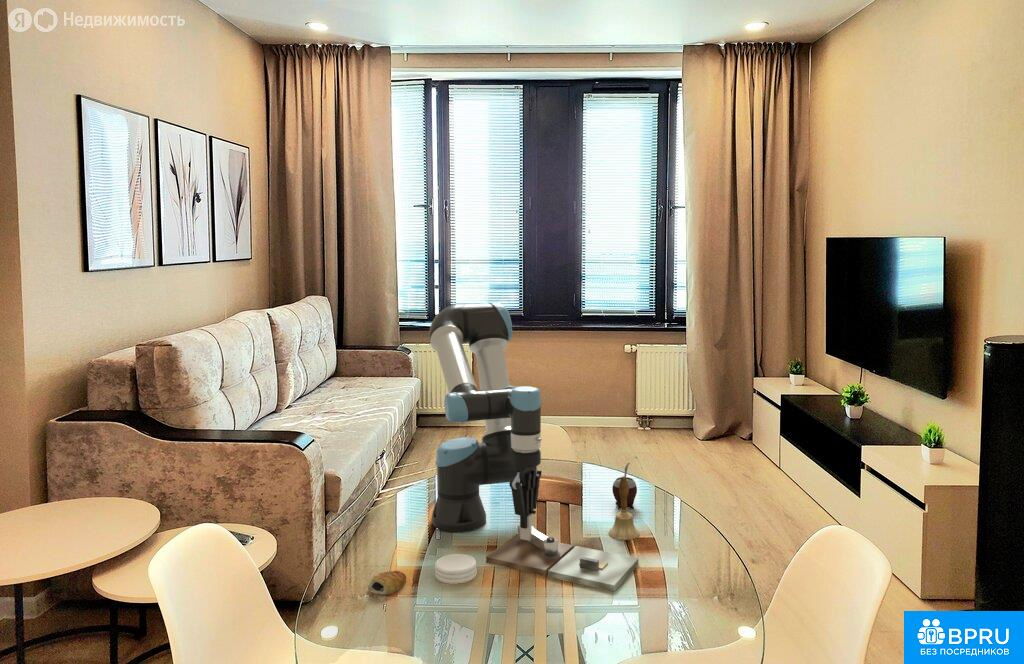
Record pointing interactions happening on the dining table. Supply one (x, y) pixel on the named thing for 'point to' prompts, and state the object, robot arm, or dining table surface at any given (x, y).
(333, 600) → the dining table surface
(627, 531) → the hand bell
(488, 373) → the robot arm
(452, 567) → the coaster
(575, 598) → the dining table surface
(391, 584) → the pastry
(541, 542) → the swing bar
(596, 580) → the door board
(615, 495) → the mate gourd
